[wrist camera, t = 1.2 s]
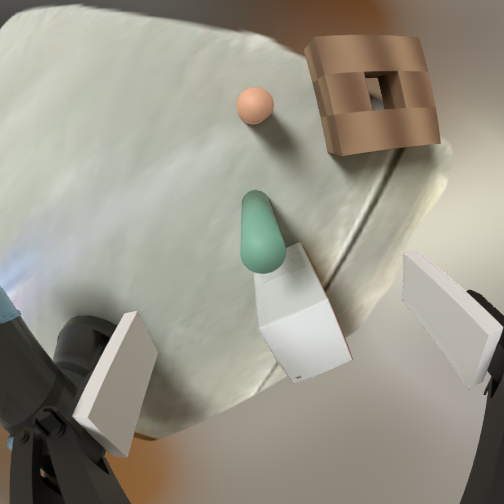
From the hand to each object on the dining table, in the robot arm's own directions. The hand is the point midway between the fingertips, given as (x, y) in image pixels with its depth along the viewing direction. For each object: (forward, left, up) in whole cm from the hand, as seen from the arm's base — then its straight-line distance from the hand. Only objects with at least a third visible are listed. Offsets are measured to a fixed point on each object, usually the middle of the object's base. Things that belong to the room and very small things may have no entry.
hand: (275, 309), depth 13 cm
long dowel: (0, 0, -21) cm, 21 cm away
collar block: (+15, +10, -21) cm, 27 cm away
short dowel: (+2, +10, -21) cm, 23 cm away
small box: (+2, -10, -21) cm, 23 cm away
